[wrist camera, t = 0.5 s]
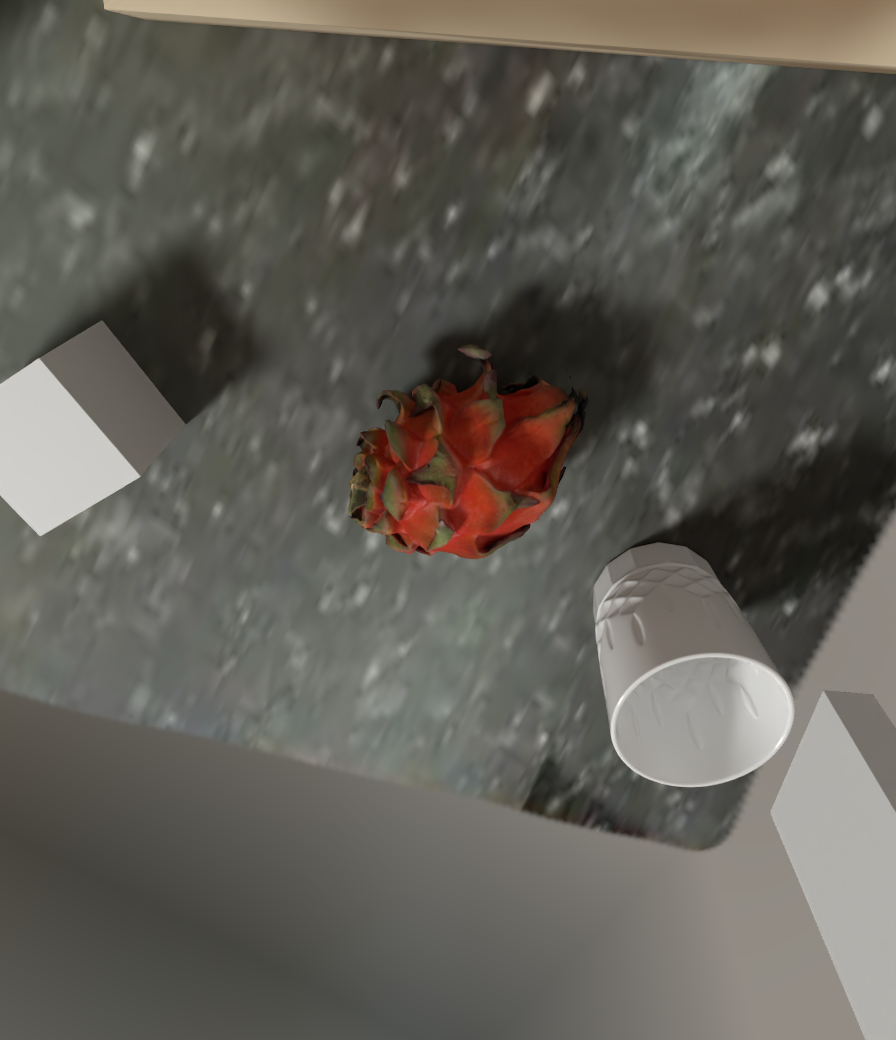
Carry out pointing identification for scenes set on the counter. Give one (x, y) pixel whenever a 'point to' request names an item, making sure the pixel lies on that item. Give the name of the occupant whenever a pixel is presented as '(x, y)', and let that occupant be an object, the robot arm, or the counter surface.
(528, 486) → the dragon fruit
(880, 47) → the key panel
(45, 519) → the white cube
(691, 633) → the white cup
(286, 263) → the counter surface
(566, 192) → the counter surface
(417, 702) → the counter surface
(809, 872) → the robot arm
